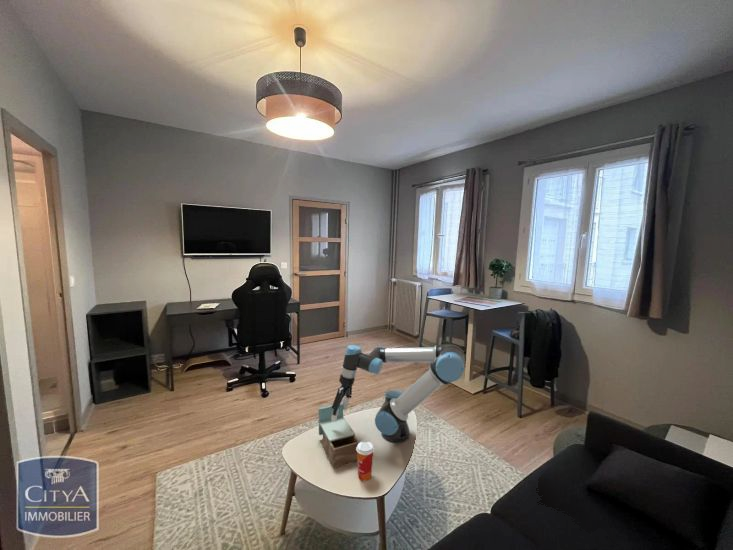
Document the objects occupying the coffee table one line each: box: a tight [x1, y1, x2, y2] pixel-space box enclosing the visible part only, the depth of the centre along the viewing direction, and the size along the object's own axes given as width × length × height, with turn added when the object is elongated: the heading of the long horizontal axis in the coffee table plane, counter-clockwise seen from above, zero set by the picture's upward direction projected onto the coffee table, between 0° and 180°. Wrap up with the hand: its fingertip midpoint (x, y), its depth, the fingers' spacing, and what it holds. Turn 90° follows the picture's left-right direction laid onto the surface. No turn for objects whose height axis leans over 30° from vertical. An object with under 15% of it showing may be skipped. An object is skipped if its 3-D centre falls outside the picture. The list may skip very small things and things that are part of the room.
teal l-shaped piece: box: [318, 402, 356, 442], centre depth 152 cm, size 18×13×14 cm
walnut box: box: [322, 431, 361, 469], centre depth 146 cm, size 16×13×9 cm
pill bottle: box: [356, 441, 375, 482], centre depth 132 cm, size 8×8×14 cm
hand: (339, 414), depth 156 cm, fingers open, 13 cm apart
